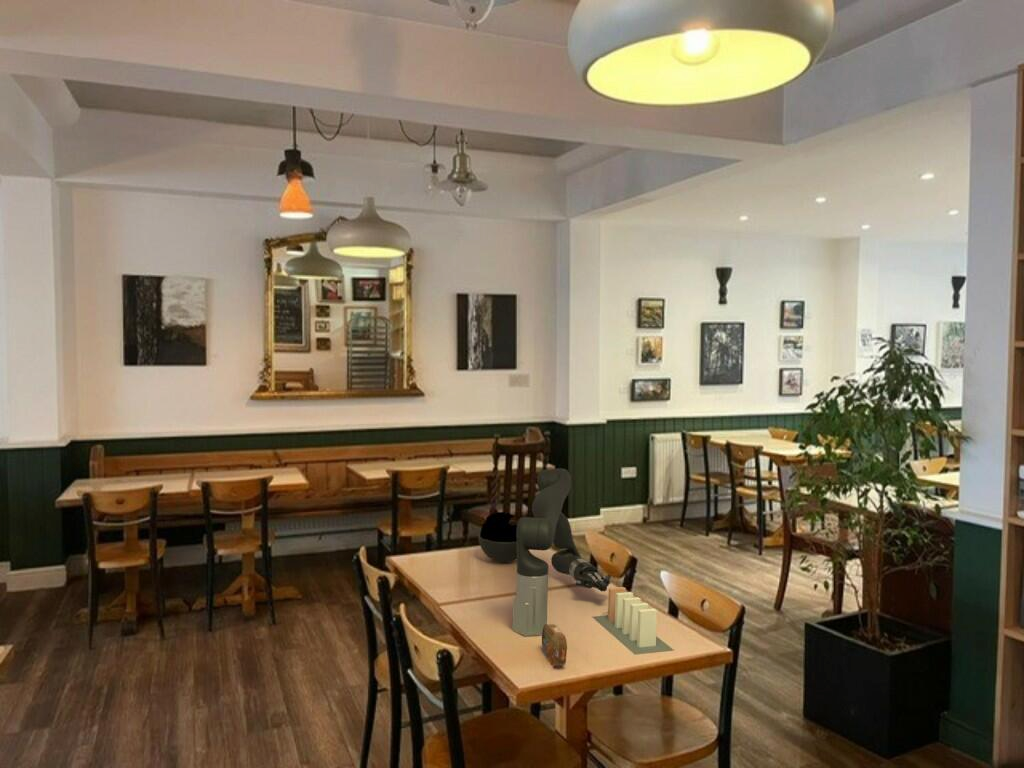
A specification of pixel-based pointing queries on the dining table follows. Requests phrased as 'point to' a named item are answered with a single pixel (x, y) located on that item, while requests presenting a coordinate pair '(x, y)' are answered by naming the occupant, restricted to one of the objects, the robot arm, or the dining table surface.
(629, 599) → the domino
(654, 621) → the domino
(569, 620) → the dining table surface
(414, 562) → the dining table surface
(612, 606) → the domino
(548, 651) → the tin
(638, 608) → the domino
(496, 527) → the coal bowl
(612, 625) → the mat
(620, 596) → the domino
